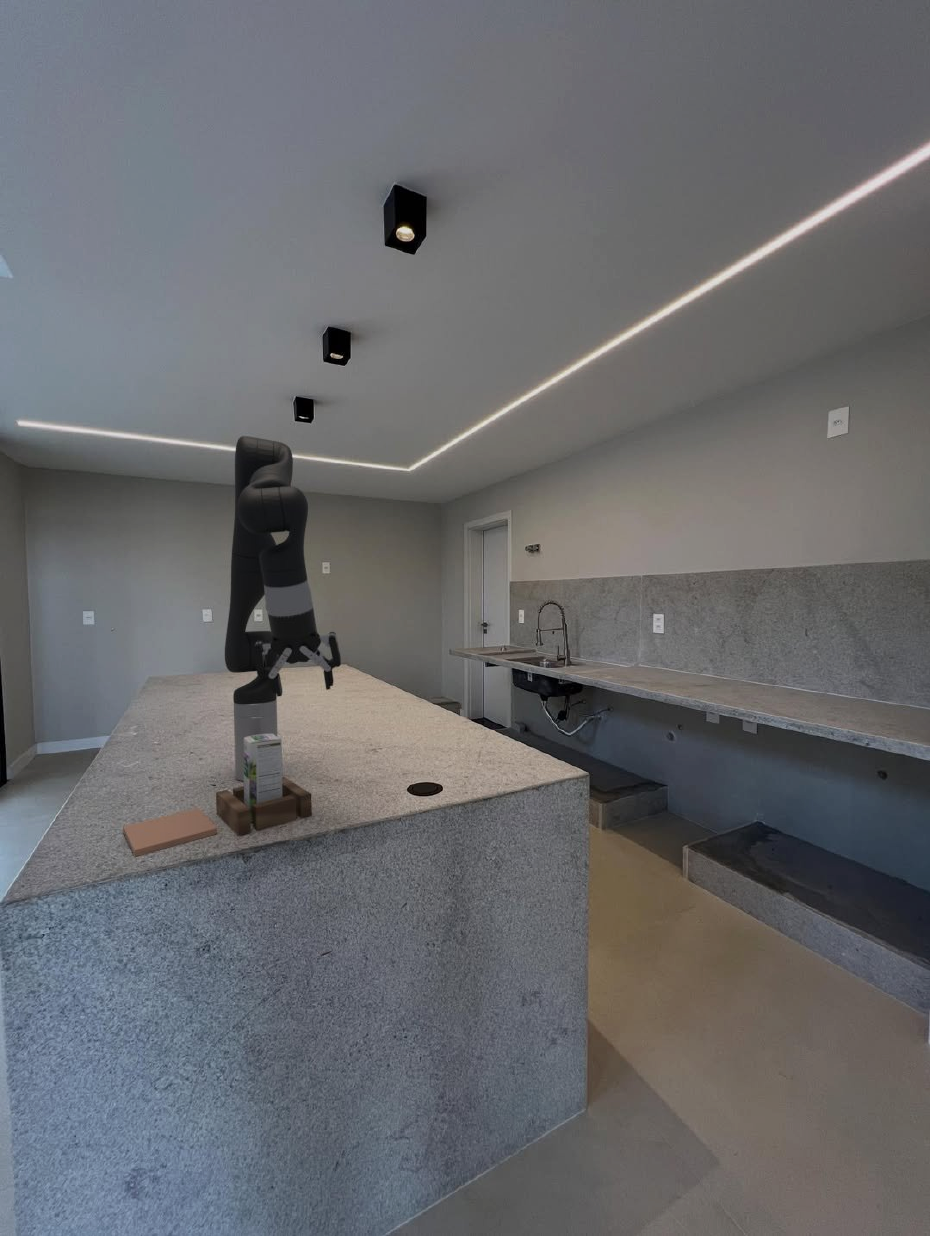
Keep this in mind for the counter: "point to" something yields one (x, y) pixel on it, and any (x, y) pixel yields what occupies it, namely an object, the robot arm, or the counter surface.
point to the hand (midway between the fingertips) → (304, 691)
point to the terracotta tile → (168, 831)
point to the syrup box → (262, 769)
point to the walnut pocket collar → (263, 808)
